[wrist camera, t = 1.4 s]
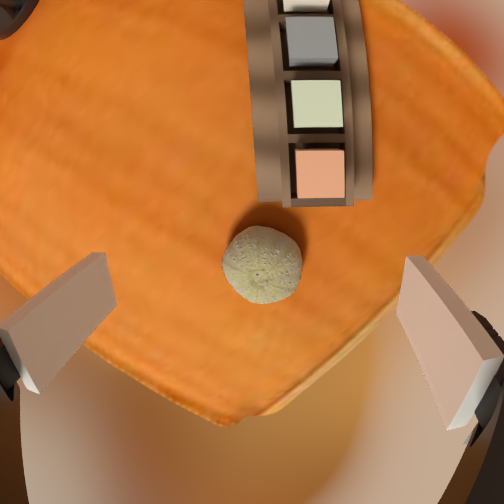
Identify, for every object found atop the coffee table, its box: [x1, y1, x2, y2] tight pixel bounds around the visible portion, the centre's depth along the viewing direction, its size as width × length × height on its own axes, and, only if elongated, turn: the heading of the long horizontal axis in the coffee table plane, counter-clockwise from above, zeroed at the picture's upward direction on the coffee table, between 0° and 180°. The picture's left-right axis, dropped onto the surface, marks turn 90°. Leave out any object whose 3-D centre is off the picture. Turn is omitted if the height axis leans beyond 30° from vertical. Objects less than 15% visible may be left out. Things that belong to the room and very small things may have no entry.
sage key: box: [291, 80, 343, 128], centre depth 24 cm, size 4×4×4 cm
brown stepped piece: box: [243, 0, 373, 207], centre depth 27 cm, size 25×12×6 cm, turn 4°
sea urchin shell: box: [222, 225, 303, 304], centre depth 35 cm, size 9×8×8 cm
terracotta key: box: [295, 148, 345, 198], centre depth 26 cm, size 4×4×4 cm
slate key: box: [285, 17, 338, 67], centre depth 22 cm, size 4×4×4 cm
